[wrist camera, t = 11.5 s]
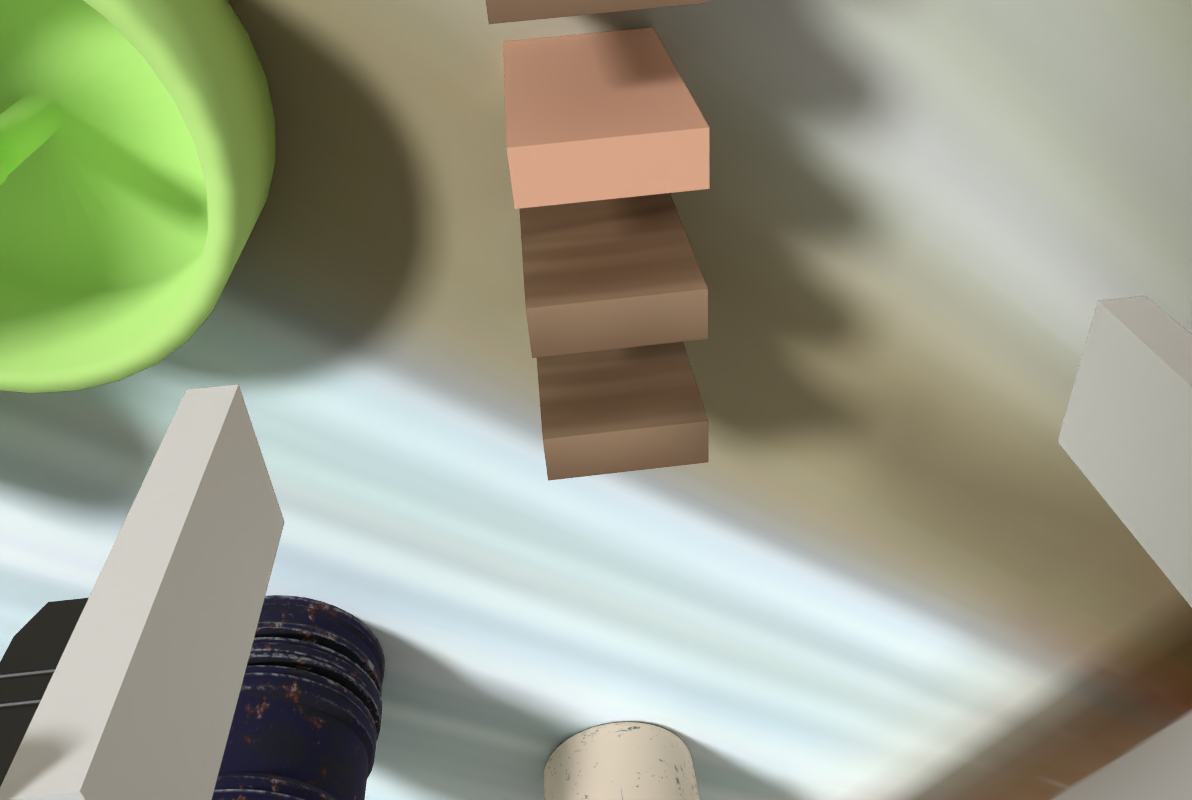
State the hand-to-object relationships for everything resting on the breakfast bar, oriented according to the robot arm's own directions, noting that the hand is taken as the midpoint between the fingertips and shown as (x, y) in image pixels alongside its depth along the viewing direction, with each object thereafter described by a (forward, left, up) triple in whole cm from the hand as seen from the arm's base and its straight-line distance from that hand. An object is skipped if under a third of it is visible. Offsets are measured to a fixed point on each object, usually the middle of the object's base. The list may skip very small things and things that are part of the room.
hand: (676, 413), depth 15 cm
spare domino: (0, 0, -21) cm, 21 cm away
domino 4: (+5, 0, -21) cm, 21 cm away
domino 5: (+9, 0, -21) cm, 23 cm away
